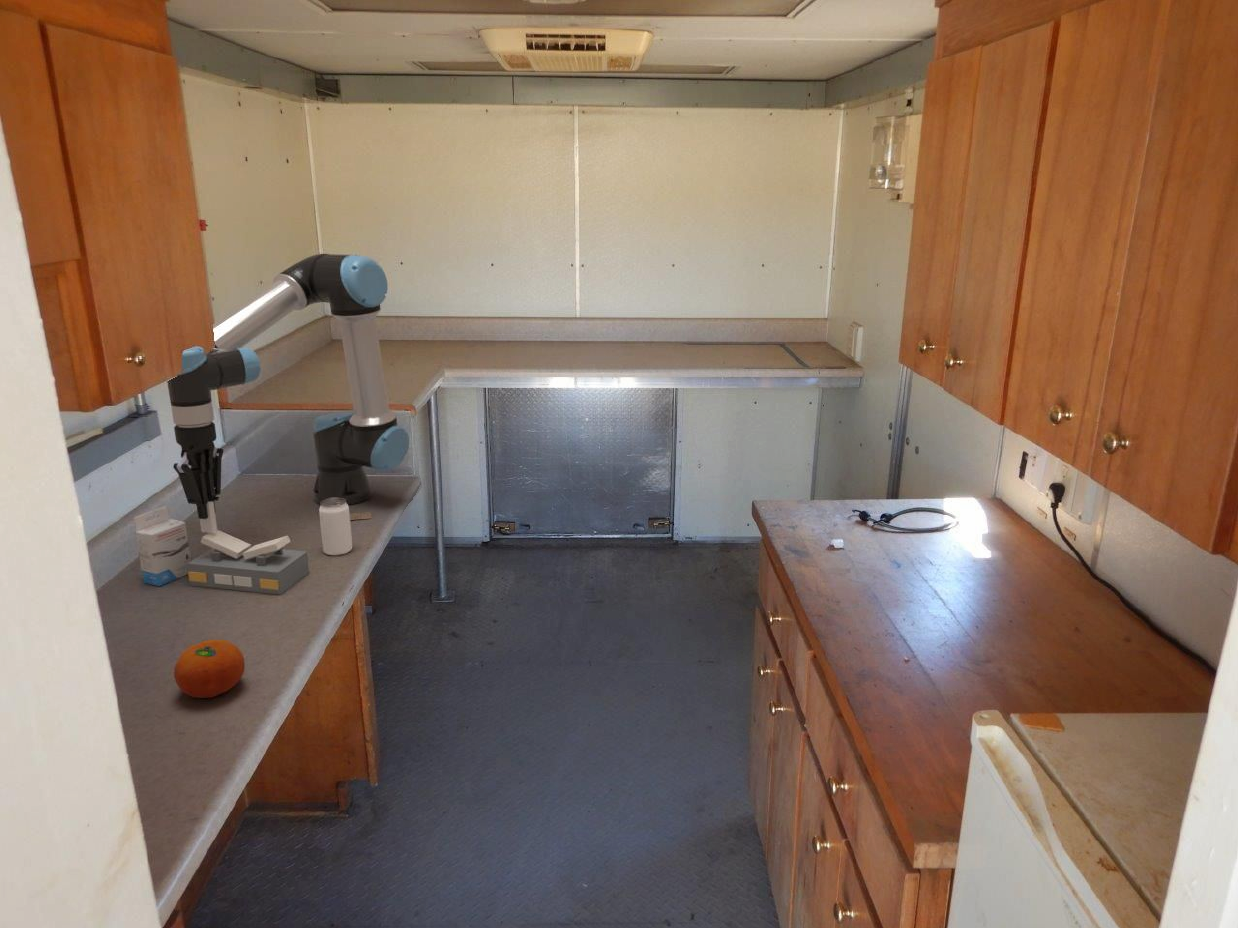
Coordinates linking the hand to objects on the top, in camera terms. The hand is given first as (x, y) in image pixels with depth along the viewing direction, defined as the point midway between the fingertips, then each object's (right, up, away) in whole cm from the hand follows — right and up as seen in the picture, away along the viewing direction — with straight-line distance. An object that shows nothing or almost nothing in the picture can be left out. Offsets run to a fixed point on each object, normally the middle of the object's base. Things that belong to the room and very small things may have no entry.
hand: (209, 530), depth 185 cm
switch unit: (+8, -10, +2) cm, 13 cm away
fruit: (+19, -24, -39) cm, 50 cm away
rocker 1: (+3, -4, +1) cm, 5 cm away
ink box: (-10, -10, +2) cm, 14 cm away
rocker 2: (+13, -5, -1) cm, 14 cm away
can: (+22, -6, +17) cm, 28 cm away
